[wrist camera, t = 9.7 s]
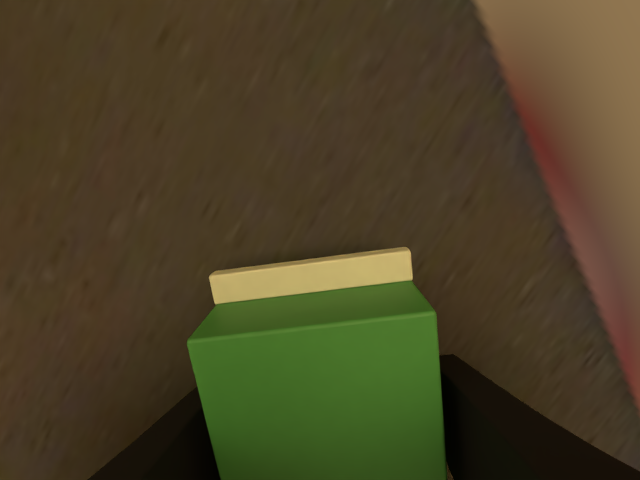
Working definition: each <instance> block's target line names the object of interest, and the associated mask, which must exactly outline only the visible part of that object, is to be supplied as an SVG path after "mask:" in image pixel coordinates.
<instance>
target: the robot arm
mask: <svg viewBox="0 0 640 480" xmlns="http://www.w3.org/2000/svg"><path fill="white" fill-rule="evenodd" d="M439 360H440V375H441V390H442V405H443V420H444V435H445V451H446V461H447V464H448V467H449V469H450V471H451V474H452V476H453V478H454V480H640V471H638V470H636V469H634V468H632V467H630V466H628V465H627V464H625V463H623V462H621V461H619V460H617V459H615V458H614V457H612V456H610V455H608V454H606V453H605V452H603V451H601V450H599V449H598V448H596V447H594V446H592V445H591V444H589V443H587V442H586V441H584V440H582V439H581V438H579V437H577V436H576V435H574V434H572V433H571V432H569V431H567V430H566V429H564V428H562V427H561V426H559V425H557V424H556V423H554V422H553V421H551V420H549V419H548V418H546V417H545V416H543V415H541V414H540V413H538V412H537V411H535V410H534V409H532V408H531V407H529V406H528V405H526V404H524V403H523V402H521V401H520V400H518V399H517V398H515V397H514V396H513V395H511V394H510V393H508V392H507V391H505V390H504V389H502V388H501V387H499V386H498V385H496V384H495V383H494V382H492V381H491V380H489V379H488V378H486V377H485V376H484V375H482V374H481V373H479V372H478V371H477V370H475V369H474V368H472V367H471V366H470V365H468V364H467V363H465V362H464V361H462V360H461V359H460V358H458V357H457V356H455V355H453V354H451V355H442V356H439ZM88 480H220V476H219V472H218V468H217V464H216V460H215V456H214V452H213V448H212V444H211V440H210V436H209V432H208V428H207V423H206V419H205V415H204V411H203V407H202V403H201V399H200V395H199V391H198V387H196V388H195V389H194V390H193V391H191V392H190V393H189V394H188V395H187V396H185V397H184V398H183V399H182V400H181V401H180V402H179V403H177V404H176V405H175V406H174V407H173V408H172V409H171V410H169V411H168V412H167V413H166V414H165V415H164V416H163V417H162V418H160V419H159V420H158V421H157V422H156V423H155V424H153V425H152V426H151V427H150V428H149V429H148V430H147V431H145V432H144V433H143V434H142V435H141V436H140V437H139V438H137V439H136V440H135V441H134V442H133V443H132V444H130V445H129V446H128V447H127V448H126V449H124V450H123V451H122V452H121V453H119V454H118V455H117V456H116V457H115V458H113V459H112V460H111V461H110V462H109V463H107V464H106V465H105V466H104V467H102V468H101V469H100V470H99V471H98V472H96V473H95V474H94V475H93V476H91V477H90V478H89V479H88Z"/></svg>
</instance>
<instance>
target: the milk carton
mask: <svg viewBox="0 0 640 480" xmlns="http://www.w3.org/2000/svg"><path fill="white" fill-rule="evenodd" d="M412 279H413V275H412V263H411V252H410V250H409V249H408V248H407V247H399V248H391V249H384V250H376V251H368V252H360V253H352V254H344V255H337V256H329V257H321V258H313V259H305V260H298V261H290V262H282V263H274V264H266V265H259V266H251V267H243V268H235V269H227V270H219V271H214V272H213V273H212V274H211V275H210V276H209V280H210V285H211V289H212V294H213V298H214V303H215V304H217V305H216V306H215V307H214V308H213V310H212V311H211V312H210V313H209V314H208V316H207V317H206V318H205V319H204V320H203V322H202V323H201V324H200V325H199V326H198V328H197V329H196V330H195V331H194V333H193V334H192V335H191V336H190V337H189V339H188V340H187V347H188V351H189V355H190V359H191V363H192V367H193V371H194V375H195V379H196V383H197V387H198V391H199V395H200V399H201V403H202V407H203V411H204V415H205V419H206V423H207V428H208V432H209V436H210V440H211V444H212V448H213V452H214V456H215V460H216V464H217V468H218V472H219V476H220V480H447V466H446V451H445V435H444V420H443V405H442V390H441V375H440V360H439V345H438V330H437V315H436V312H435V310H434V309H433V308H432V306H431V305H430V304H429V302H428V301H427V300H426V299H425V297H424V296H423V295H422V293H421V292H420V291H419V290H418V288H417V287H416V286H415V284H414V283H413V282H412V281H411V280H412Z"/></svg>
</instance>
